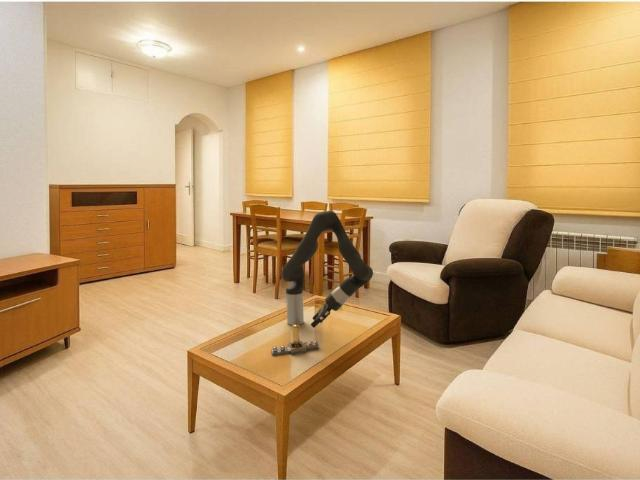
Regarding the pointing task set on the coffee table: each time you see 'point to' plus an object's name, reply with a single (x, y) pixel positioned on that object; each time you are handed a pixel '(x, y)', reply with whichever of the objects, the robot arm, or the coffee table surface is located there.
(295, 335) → the pin
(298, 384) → the coffee table surface
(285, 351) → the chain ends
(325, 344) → the coffee table surface
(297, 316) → the robot arm
